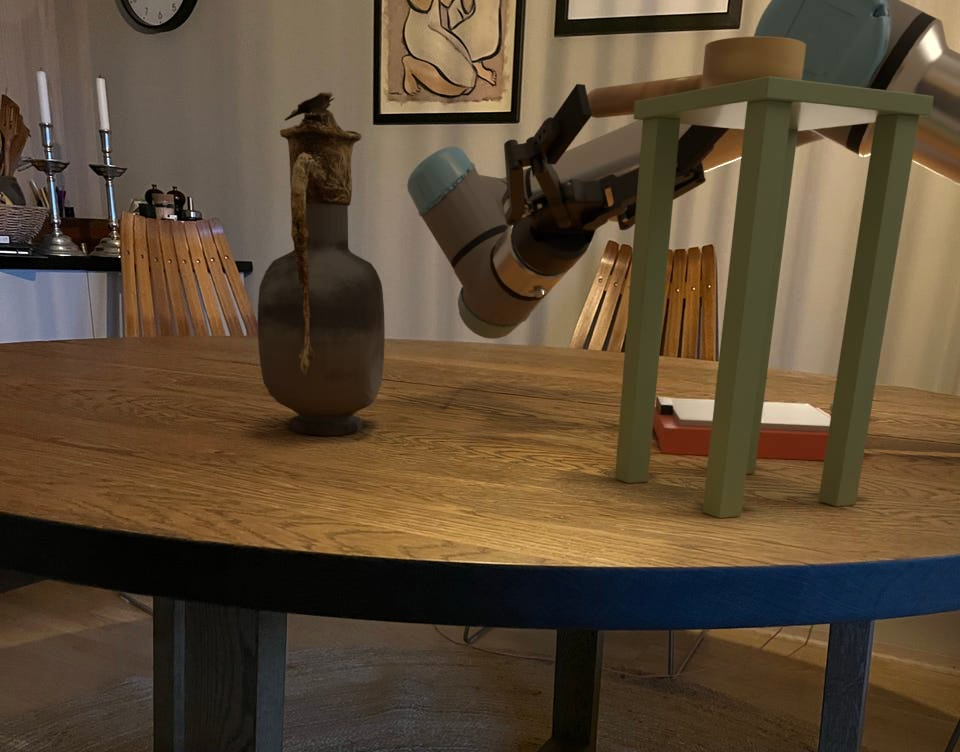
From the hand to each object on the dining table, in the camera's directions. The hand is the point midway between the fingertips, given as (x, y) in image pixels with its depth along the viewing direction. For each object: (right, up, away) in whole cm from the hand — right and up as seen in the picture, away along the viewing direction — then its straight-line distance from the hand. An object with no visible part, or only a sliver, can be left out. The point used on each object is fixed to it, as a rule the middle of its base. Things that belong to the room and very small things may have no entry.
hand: (656, 106), depth 85 cm
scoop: (+1, -3, -5) cm, 6 cm away
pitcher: (-30, -24, +17) cm, 42 cm away
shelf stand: (+6, -32, -2) cm, 33 cm away
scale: (+12, -24, +20) cm, 33 cm away
